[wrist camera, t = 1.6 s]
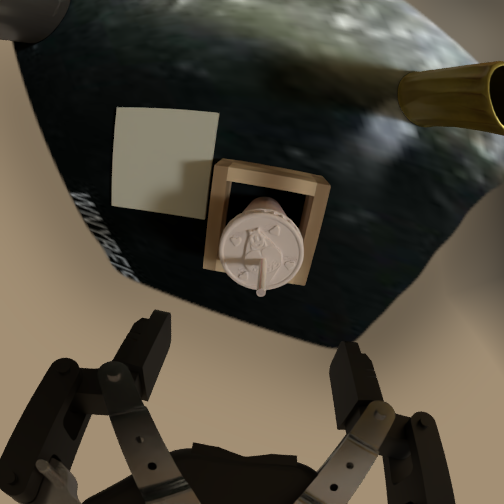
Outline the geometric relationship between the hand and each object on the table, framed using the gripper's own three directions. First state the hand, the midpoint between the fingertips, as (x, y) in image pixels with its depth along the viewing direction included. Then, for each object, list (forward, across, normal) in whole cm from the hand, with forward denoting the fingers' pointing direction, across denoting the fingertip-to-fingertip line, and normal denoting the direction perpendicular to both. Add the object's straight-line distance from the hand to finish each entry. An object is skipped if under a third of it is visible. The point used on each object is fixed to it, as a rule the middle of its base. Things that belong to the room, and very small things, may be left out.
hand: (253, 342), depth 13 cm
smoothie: (+19, 0, 0) cm, 19 cm away
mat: (+19, +12, -4) cm, 23 cm away
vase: (+19, -14, -16) cm, 29 cm away
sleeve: (+19, 0, 0) cm, 19 cm away
